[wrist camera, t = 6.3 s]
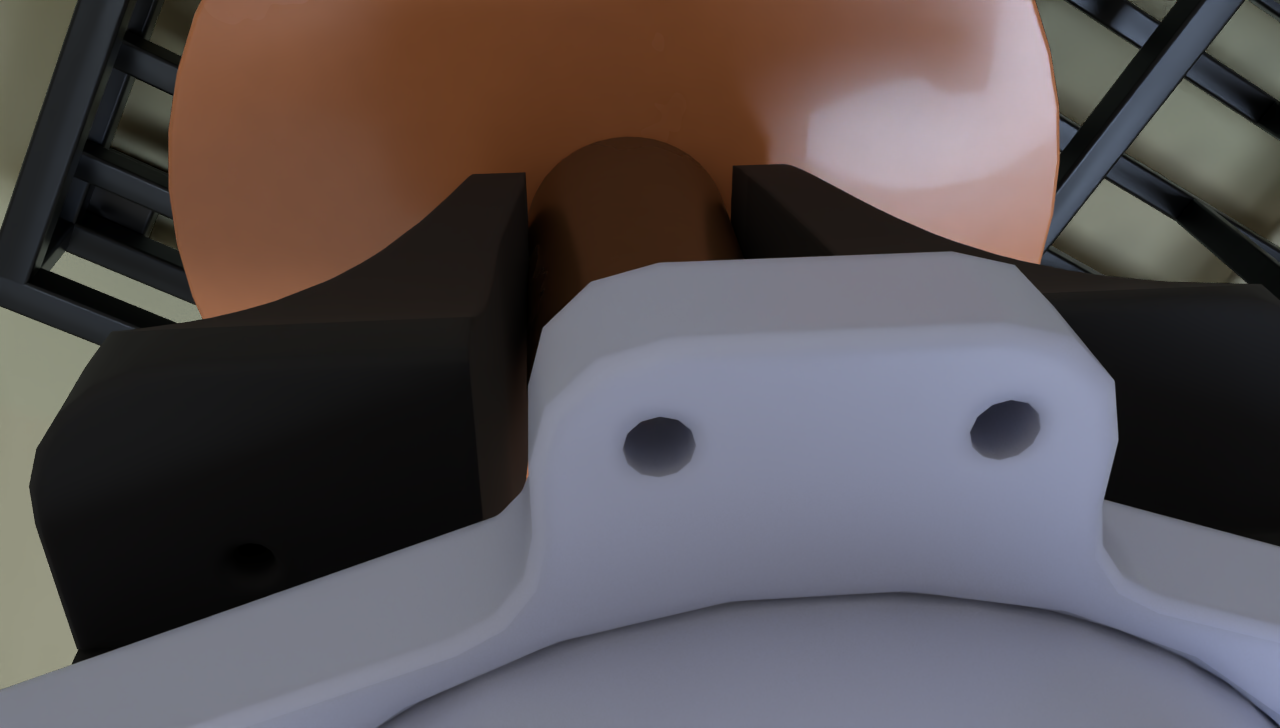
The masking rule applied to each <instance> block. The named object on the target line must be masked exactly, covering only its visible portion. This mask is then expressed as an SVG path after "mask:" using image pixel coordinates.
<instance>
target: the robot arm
mask: <svg viewBox="0 0 1280 728" xmlns="http://www.w3.org/2000/svg"><path fill="white" fill-rule="evenodd" d="M730 221H731V224H732V227H733V229H734V232H735V235H736V238H737V240H738V243H739V246H740V249H741V251H742V254H743V257H744V259H741V260H715V261H689V262H663V263H656V264H652V265H649V266H645V267H641V268H638V269H634V270H631V271H627V272H624V273H620V274H617V275H613V276H609V277H606V278H602V279H599V280H595V281H592V282H590V283H589V284H588V285H587V286H586V287H585V288H584V289H583V290H582V291H580V292H579V293H578V294H577V295H576V296H575V297H574V298H573V299H572V300H571V301H570V302H569V303H568V304H567V305H566V306H565V307H564V308H563V309H562V310H561V311H560V312H559V313H557V314H556V315H555V316H554V317H553V318H552V319H551V320H550V321H549V322H548V323H547V324H546V325H545V326H544V327H543V329H542V332H541V336H540V340H539V344H538V348H537V352H536V356H535V360H534V364H533V368H532V372H531V376H530V380H529V384H528V395H527V283H528V270H529V226H528V208H527V190H526V172H520V173H490V174H472V175H470V176H469V177H468V178H467V179H466V180H465V181H464V182H462V183H461V184H460V185H459V186H458V187H457V188H456V189H455V190H454V191H453V192H452V193H451V194H450V195H449V196H448V197H447V198H446V199H445V200H444V201H443V202H441V203H440V204H439V205H438V206H437V207H436V208H435V209H434V210H433V211H431V212H430V213H429V214H428V215H427V216H426V217H425V218H424V219H423V220H421V221H420V222H419V223H418V224H416V225H415V226H414V227H412V228H411V229H410V230H408V231H407V232H406V233H404V234H403V235H402V236H400V237H399V238H398V239H396V240H395V241H394V242H392V243H391V244H390V245H388V246H387V247H386V248H384V249H383V250H381V251H380V252H378V253H377V254H375V255H374V256H372V257H370V258H369V259H367V260H365V261H364V262H362V263H360V264H359V265H357V266H355V267H353V268H351V269H349V270H347V271H345V272H343V273H342V274H340V275H338V276H336V277H334V278H332V279H329V280H327V281H325V282H323V283H320V284H317V285H315V286H312V287H310V288H307V289H305V290H302V291H299V292H297V293H294V294H292V295H289V296H287V297H284V298H281V299H279V300H276V301H273V302H270V303H267V304H263V305H260V306H256V307H252V308H249V309H245V310H242V311H238V312H233V313H229V314H225V315H220V316H216V317H212V318H207V319H202V320H196V321H191V322H184V323H177V324H169V325H162V326H155V327H147V328H140V329H132V330H123V331H112V332H111V333H110V334H109V335H108V337H107V338H106V339H105V341H104V342H103V343H102V345H101V346H100V347H99V349H98V350H97V352H96V353H95V354H94V356H93V357H92V359H91V360H90V361H89V363H88V364H87V366H86V367H85V369H84V370H83V372H82V374H81V375H80V377H79V379H78V381H77V382H76V384H75V386H74V387H73V389H72V391H71V392H70V394H69V396H68V398H67V399H66V401H65V403H64V404H63V406H62V408H61V409H60V411H59V412H58V414H57V416H56V417H55V419H54V421H53V422H52V424H51V426H50V427H49V429H48V431H47V432H46V434H45V436H44V437H43V439H42V441H41V442H40V444H39V445H38V447H37V449H36V454H35V459H34V464H33V469H32V474H31V480H30V485H29V489H30V495H31V501H32V507H33V513H34V519H35V525H36V528H37V531H38V534H39V537H40V540H41V543H42V546H43V549H44V552H45V555H46V558H47V561H48V564H49V567H50V570H51V573H52V576H53V579H54V582H55V585H56V588H57V591H58V594H59V596H60V599H61V602H62V605H63V608H64V611H65V614H66V617H67V620H68V623H69V626H70V629H71V632H72V635H73V638H74V641H75V644H76V647H77V649H78V652H77V654H76V656H75V658H74V660H73V663H72V665H70V666H67V667H64V668H61V669H58V670H55V671H52V672H50V673H47V674H44V675H41V676H38V677H35V678H32V679H30V680H27V681H24V682H21V683H18V684H15V685H12V686H10V687H7V688H4V689H1V690H0V728H1280V300H1279V299H1278V298H1276V297H1275V296H1274V295H1273V294H1272V293H1271V292H1270V291H1269V290H1267V289H1266V288H1265V287H1264V286H1263V285H1262V284H1233V283H1195V282H1164V281H1151V280H1142V279H1132V278H1122V277H1113V276H1103V275H1097V274H1090V273H1083V272H1076V271H1070V270H1064V269H1060V268H1055V267H1050V266H1045V265H1040V264H1035V263H1030V262H1025V261H1021V260H1017V259H1013V258H1009V257H1005V256H1001V255H997V254H994V253H990V252H987V251H984V250H981V249H978V248H974V247H971V246H968V245H965V244H962V243H959V242H955V241H952V240H950V239H947V238H944V237H942V236H939V235H936V234H934V233H931V232H929V231H926V230H924V229H922V228H919V227H917V226H915V225H912V224H910V223H908V222H906V221H903V220H901V219H899V218H896V217H894V216H892V215H890V214H888V213H886V212H884V211H882V210H880V209H878V208H876V207H874V206H872V205H870V204H868V203H866V202H864V201H862V200H860V199H858V198H856V197H854V196H852V195H850V194H848V193H847V192H845V191H843V190H841V189H839V188H837V187H835V186H833V185H832V184H830V183H828V182H826V181H824V180H822V179H820V178H818V177H816V176H814V175H812V174H810V173H808V172H806V171H804V170H802V169H800V168H797V167H795V166H792V165H788V164H764V165H734V166H733V170H732V194H731V219H730ZM527 467H528V473H529V475H528V478H527V480H526V476H527Z"/></svg>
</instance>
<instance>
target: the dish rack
mask: <svg viewBox="0 0 1280 728" xmlns="http://www.w3.org/2000/svg"><path fill="white" fill-rule="evenodd" d="M1064 1H1066V2H1067V3H1069V4H1070V5H1072V6H1074V7H1075V8H1077V9H1078V10H1080V11H1081V12H1083V13H1084V14H1086V15H1087V16H1089V17H1090V18H1092V19H1094V20H1095V21H1097V22H1098V23H1100V24H1101V25H1103V26H1104V27H1106V28H1107V29H1109V30H1110V31H1112V32H1113V33H1115V34H1117V35H1118V36H1120V37H1121V38H1123V39H1124V40H1126V41H1127V42H1129V43H1130V44H1132V45H1133V46H1135V47H1137V48H1138V49H1140V50H1139V52H1138V53H1137V54H1136V56H1135V57H1134V58H1133V59H1132V61H1131V62H1130V63H1129V65H1128V66H1127V67H1126V69H1125V70H1124V71H1123V73H1122V74H1121V75H1120V76H1119V78H1118V79H1117V80H1116V82H1115V83H1114V84H1113V86H1112V87H1111V88H1110V90H1109V91H1108V92H1107V93H1106V95H1105V96H1104V97H1103V99H1102V100H1101V101H1100V103H1099V104H1098V105H1097V107H1096V108H1095V109H1094V110H1093V112H1092V113H1091V114H1090V116H1089V117H1088V118H1087V120H1086V121H1085V122H1084V124H1083V125H1082V126H1080V125H1078V124H1077V123H1075V122H1073V121H1072V120H1070V119H1068V118H1067V117H1065V116H1064V115H1062V114H1060V113H1059V139H1060V152H1061V154H1060V162H1059V170H1058V179H1057V187H1056V195H1055V203H1054V211H1053V216H1052V220H1051V224H1050V228H1049V232H1048V235H1047V239H1046V243H1045V247H1044V251H1043V255H1042V259H1041V262H1040V265H1045V266H1050V267H1055V268H1060V269H1064V270H1070V271H1076V272H1083V273H1090V274H1097V275H1103V274H1101V273H1099V272H1098V271H1096V270H1094V269H1092V268H1090V267H1089V266H1087V265H1085V264H1083V263H1082V262H1080V261H1078V260H1076V259H1074V258H1073V257H1071V256H1069V255H1067V254H1065V253H1064V252H1062V251H1060V250H1058V249H1057V248H1055V247H1053V246H1051V245H1052V243H1053V242H1054V241H1055V240H1056V238H1057V237H1058V236H1059V235H1060V233H1061V232H1062V231H1063V230H1064V228H1065V227H1066V226H1067V225H1068V223H1069V222H1070V221H1071V219H1072V218H1073V217H1074V216H1075V214H1076V213H1077V212H1078V211H1079V209H1080V208H1081V207H1082V206H1083V204H1084V203H1085V202H1086V201H1087V199H1088V198H1089V197H1090V195H1091V194H1092V193H1093V192H1094V190H1095V189H1096V188H1097V187H1098V185H1099V184H1100V183H1101V182H1102V180H1103V179H1106V180H1108V181H1109V182H1111V183H1113V184H1114V185H1116V186H1118V187H1119V188H1121V189H1123V190H1125V191H1126V192H1128V193H1130V194H1131V195H1133V196H1135V197H1136V198H1138V199H1140V200H1141V201H1143V202H1145V203H1146V204H1148V205H1150V206H1151V207H1153V208H1155V209H1156V210H1158V211H1160V212H1161V213H1163V214H1165V215H1166V216H1168V217H1170V218H1171V219H1173V220H1175V221H1176V222H1177V223H1178V224H1179V225H1181V226H1182V227H1183V228H1184V229H1185V230H1186V231H1187V232H1189V233H1190V234H1191V235H1192V236H1193V237H1194V238H1196V239H1197V240H1198V241H1199V242H1200V243H1201V244H1203V245H1204V246H1205V247H1206V248H1207V249H1208V250H1210V251H1211V252H1212V253H1213V254H1214V255H1215V256H1216V257H1218V258H1219V259H1220V260H1221V261H1222V262H1223V263H1225V264H1226V265H1227V266H1228V267H1229V268H1230V269H1232V270H1233V271H1234V272H1235V273H1236V274H1237V275H1238V276H1240V277H1241V278H1242V279H1243V280H1244V281H1245V282H1247V283H1248V284H1262V285H1263V286H1264V287H1265V288H1266V289H1267V290H1269V291H1270V292H1271V293H1272V294H1273V295H1274V296H1275V297H1276V298H1278V299H1279V300H1280V247H1278V246H1277V245H1275V244H1273V243H1272V242H1270V241H1268V240H1267V239H1265V238H1264V237H1262V236H1260V235H1259V234H1257V233H1255V232H1254V231H1252V230H1250V229H1249V228H1247V227H1245V226H1244V225H1242V224H1241V223H1239V222H1237V221H1236V220H1234V219H1232V218H1231V217H1229V216H1227V215H1226V214H1224V213H1223V212H1221V211H1219V210H1218V209H1216V208H1214V207H1213V206H1211V205H1209V204H1208V203H1206V202H1205V201H1203V200H1201V199H1200V198H1198V197H1196V196H1195V195H1193V194H1191V193H1190V192H1188V191H1186V190H1185V189H1183V188H1182V187H1180V186H1178V185H1177V184H1175V183H1173V182H1172V181H1170V180H1168V179H1167V178H1165V177H1164V176H1162V175H1160V174H1159V173H1157V172H1155V171H1154V170H1152V169H1150V168H1149V167H1147V166H1146V165H1144V164H1142V163H1141V162H1139V161H1137V160H1136V159H1134V158H1132V157H1131V156H1129V155H1127V154H1126V153H1125V151H1126V150H1127V149H1128V147H1129V146H1130V145H1131V144H1132V142H1133V141H1134V140H1135V139H1136V137H1137V136H1138V135H1139V134H1140V132H1141V131H1142V130H1143V129H1144V127H1145V126H1146V125H1147V123H1148V122H1149V121H1150V120H1151V118H1152V117H1153V116H1154V115H1155V113H1156V112H1157V111H1158V110H1159V108H1160V107H1161V106H1162V105H1163V103H1164V102H1165V101H1166V99H1167V98H1168V97H1169V96H1170V94H1171V93H1172V92H1173V91H1174V89H1175V88H1176V87H1177V86H1178V84H1179V83H1180V82H1181V81H1182V79H1183V78H1184V79H1186V80H1187V81H1189V82H1190V83H1192V84H1193V85H1195V86H1196V87H1198V88H1199V89H1201V90H1203V91H1204V92H1206V93H1207V94H1209V95H1210V96H1212V97H1213V98H1215V99H1216V100H1218V101H1219V102H1221V103H1222V104H1224V105H1226V106H1227V107H1229V108H1230V109H1232V110H1233V111H1235V112H1236V113H1238V114H1239V115H1241V116H1242V117H1244V118H1246V119H1247V120H1249V121H1250V122H1252V123H1253V124H1255V125H1256V126H1258V127H1259V128H1261V129H1262V130H1264V131H1265V132H1267V133H1269V134H1270V135H1272V136H1273V137H1275V138H1276V139H1278V140H1279V141H1280V102H1279V101H1278V100H1276V99H1275V98H1273V97H1272V96H1270V95H1269V94H1267V93H1266V92H1264V91H1263V90H1261V89H1260V88H1258V87H1257V86H1255V85H1254V84H1252V83H1251V82H1249V81H1248V80H1246V79H1245V78H1243V77H1242V76H1240V75H1239V74H1237V73H1236V72H1234V71H1233V70H1231V69H1230V68H1228V67H1227V66H1225V65H1224V64H1222V63H1221V62H1219V61H1218V60H1216V59H1215V58H1213V57H1212V56H1210V55H1209V54H1207V53H1206V52H1204V51H1205V50H1206V49H1207V48H1208V46H1209V45H1210V44H1211V43H1212V41H1213V40H1214V39H1215V38H1216V36H1217V35H1218V34H1219V33H1220V31H1221V30H1222V29H1223V27H1224V26H1225V25H1226V24H1227V22H1228V21H1229V20H1230V19H1231V17H1232V16H1233V15H1234V14H1235V12H1236V11H1237V10H1238V9H1239V7H1240V6H1241V5H1242V3H1243V2H1244V1H1245V0H1178V1H1177V2H1176V3H1175V5H1174V6H1173V7H1172V9H1171V10H1170V11H1169V12H1168V14H1167V15H1166V16H1165V18H1164V19H1163V20H1162V22H1159V21H1158V20H1156V19H1155V18H1153V17H1152V16H1150V15H1149V14H1147V13H1146V12H1144V11H1143V10H1141V9H1140V8H1138V7H1137V6H1135V5H1134V4H1132V3H1131V2H1129V1H1128V0H1064ZM1249 1H1250V2H1251V3H1253V4H1254V5H1256V6H1257V7H1259V8H1260V9H1262V10H1263V11H1264V12H1266V13H1267V14H1269V15H1270V16H1272V17H1273V18H1274V19H1276V20H1277V21H1279V22H1280V0H1249ZM163 3H164V0H78V1H77V4H76V7H75V10H74V13H73V16H72V19H71V22H70V25H69V28H68V30H67V33H66V36H65V39H64V42H63V45H62V48H61V51H60V54H59V57H58V60H57V63H56V66H55V69H54V72H53V75H52V78H51V81H50V84H49V87H48V90H47V93H46V96H45V99H44V102H43V105H42V108H41V111H40V113H39V116H38V119H37V122H36V125H35V128H34V131H33V134H32V137H31V140H30V143H29V146H28V149H27V152H26V155H25V158H24V161H23V164H22V167H21V170H20V173H19V176H18V179H17V182H16V185H15V188H14V191H13V194H12V196H11V199H10V202H9V205H8V208H7V211H6V214H5V217H4V220H3V223H2V226H1V229H0V306H1V307H3V308H6V309H8V310H11V311H13V312H16V313H18V314H21V315H24V316H26V317H29V318H31V319H34V320H36V321H39V322H41V323H44V324H46V325H49V326H52V327H54V328H57V329H59V330H62V331H64V332H67V333H69V334H72V335H74V336H77V337H80V338H82V339H85V340H87V341H90V342H92V343H95V344H97V345H100V346H101V345H102V343H103V342H104V341H105V339H106V338H107V337H108V335H109V334H110V333H111V332H112V331H123V330H132V329H140V328H147V327H155V326H162V325H169V324H177V323H176V322H173V321H171V320H168V319H166V318H163V317H161V316H159V315H156V314H154V313H151V312H149V311H146V310H144V309H141V308H139V307H136V306H134V305H132V304H129V303H127V302H124V301H122V300H119V299H117V298H114V297H112V296H109V295H107V294H105V293H102V292H100V291H97V290H95V289H92V288H90V287H87V286H85V285H82V284H80V283H78V282H75V281H73V280H70V279H68V278H65V277H63V276H60V275H58V274H55V273H53V272H50V270H51V269H52V267H53V266H54V265H55V263H56V262H57V261H58V260H59V258H60V257H61V256H62V255H63V253H64V252H65V251H66V252H69V253H71V254H73V255H76V256H78V257H81V258H83V259H85V260H88V261H90V262H93V263H95V264H98V265H100V266H102V267H105V268H107V269H110V270H112V271H114V272H117V273H119V274H122V275H124V276H126V277H129V278H131V279H134V280H136V281H139V282H141V283H143V284H146V285H148V286H151V287H153V288H155V289H158V290H160V291H163V292H165V293H168V294H170V295H172V296H175V297H177V298H180V299H182V300H184V301H187V302H189V303H192V304H194V305H196V303H195V301H194V299H193V297H192V293H191V290H190V287H189V283H188V280H187V277H186V273H185V270H184V267H183V263H182V260H181V257H180V253H179V251H178V250H176V249H173V248H171V247H169V246H166V245H164V244H162V243H159V242H157V241H155V240H152V239H150V238H149V236H150V233H151V231H152V228H153V226H154V223H155V221H156V218H157V216H158V214H161V215H163V216H165V217H168V218H170V219H172V220H173V216H172V209H171V202H170V196H169V189H168V173H165V172H163V171H161V170H159V169H156V168H154V167H152V166H150V165H147V164H145V163H143V162H141V161H139V160H136V159H134V158H132V157H130V156H127V155H125V154H123V153H121V152H118V151H116V150H114V149H112V148H110V145H111V143H112V140H113V137H114V135H115V132H116V129H117V126H118V124H119V121H120V118H121V116H122V113H123V110H124V108H125V105H126V102H127V100H128V97H129V94H130V91H131V89H132V86H133V83H134V81H135V78H136V79H138V80H141V81H143V82H145V83H147V84H149V85H151V86H153V87H156V88H158V89H160V90H162V91H164V92H166V93H168V94H170V95H174V88H175V81H176V74H177V70H178V67H179V64H180V60H181V56H179V55H177V54H175V53H173V52H171V51H169V50H167V49H165V48H163V47H161V46H158V45H156V44H154V43H152V42H150V41H149V40H150V38H151V35H152V32H153V29H154V27H155V24H156V21H157V19H158V16H159V13H160V11H161V8H162V5H163ZM1103 276H1105V275H1103Z"/></svg>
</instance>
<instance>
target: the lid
mask: <svg viewBox="0 0 1280 728" xmlns="http://www.w3.org/2000/svg"><path fill="white" fill-rule="evenodd" d="M1059 162H1060V139H1059V101H1058V95H1057V89H1056V82H1055V76H1054V69H1053V63H1052V57H1051V50H1050V47H1049V43H1048V40H1047V37H1046V34H1045V31H1044V27H1043V24H1042V21H1041V18H1040V14H1039V11H1038V8H1037V5H1036V1H1035V0H201V1H200V3H199V6H198V8H197V10H196V12H195V14H194V17H193V20H192V24H191V27H190V30H189V34H188V37H187V40H186V44H185V47H184V50H183V54H182V57H181V60H180V64H179V67H178V70H177V74H176V81H175V88H174V95H173V102H172V109H171V116H170V123H169V130H168V189H169V196H170V202H171V209H172V216H173V222H174V229H175V236H176V242H177V246H178V250H179V253H180V257H181V260H182V263H183V267H184V270H185V273H186V277H187V280H188V283H189V287H190V290H191V293H192V297H193V299H194V301H195V303H196V305H197V308H198V310H199V312H200V314H201V316H202V319H207V318H212V317H216V316H220V315H225V314H229V313H233V312H238V311H242V310H245V309H249V308H252V307H256V306H260V305H263V304H267V303H270V302H273V301H276V300H279V299H281V298H284V297H287V296H289V295H292V294H294V293H297V292H299V291H302V290H305V289H307V288H310V287H312V286H315V285H317V284H320V283H323V282H325V281H327V280H329V279H332V278H334V277H336V276H338V275H340V274H342V273H343V272H345V271H347V270H349V269H351V268H353V267H355V266H357V265H359V264H360V263H362V262H364V261H365V260H367V259H369V258H370V257H372V256H374V255H375V254H377V253H378V252H380V251H381V250H383V249H384V248H386V247H387V246H388V245H390V244H391V243H392V242H394V241H395V240H396V239H398V238H399V237H400V236H402V235H403V234H404V233H406V232H407V231H408V230H410V229H411V228H412V227H414V226H415V225H416V224H418V223H419V222H420V221H421V220H423V219H424V218H425V217H426V216H427V215H428V214H429V213H430V212H431V211H433V210H434V209H435V208H436V207H437V206H438V205H439V204H440V203H441V202H443V201H444V200H445V199H446V198H447V197H448V196H449V195H450V194H451V193H452V192H453V191H454V190H455V189H456V188H457V187H458V186H459V185H460V184H461V183H462V182H464V181H465V180H466V179H467V178H468V177H469V176H470V175H472V174H490V173H520V172H526V190H527V208H528V226H529V270H528V283H527V395H528V384H529V380H530V376H531V372H532V368H533V364H534V360H535V356H536V352H537V348H538V344H539V340H540V336H541V332H542V329H543V327H544V326H545V325H546V324H547V323H548V322H549V321H550V320H551V319H552V318H553V317H554V316H555V315H556V314H557V313H559V312H560V311H561V310H562V309H563V308H564V307H565V306H566V305H567V304H568V303H569V302H570V301H571V300H572V299H573V298H574V297H575V296H576V295H577V294H578V293H579V292H580V291H582V290H583V289H584V288H585V287H586V286H587V285H588V284H589V283H590V282H592V281H595V280H599V279H602V278H606V277H609V276H613V275H617V274H620V273H624V272H627V271H631V270H634V269H638V268H641V267H645V266H649V265H652V264H656V263H663V262H689V261H715V260H741V259H744V257H743V254H742V251H741V249H740V246H739V243H738V240H737V238H736V235H735V232H734V229H733V227H732V224H731V221H730V219H731V194H732V170H733V166H734V165H764V164H788V165H792V166H795V167H797V168H800V169H802V170H804V171H806V172H808V173H810V174H812V175H814V176H816V177H818V178H820V179H822V180H824V181H826V182H828V183H830V184H832V185H833V186H835V187H837V188H839V189H841V190H843V191H845V192H847V193H848V194H850V195H852V196H854V197H856V198H858V199H860V200H862V201H864V202H866V203H868V204H870V205H872V206H874V207H876V208H878V209H880V210H882V211H884V212H886V213H888V214H890V215H892V216H894V217H896V218H899V219H901V220H903V221H906V222H908V223H910V224H912V225H915V226H917V227H919V228H922V229H924V230H926V231H929V232H931V233H934V234H936V235H939V236H942V237H944V238H947V239H950V240H952V241H955V242H959V243H962V244H965V245H968V246H971V247H974V248H978V249H981V250H984V251H987V252H990V253H994V254H997V255H1001V256H1005V257H1009V258H1013V259H1017V260H1021V261H1025V262H1030V263H1035V264H1040V262H1041V259H1042V255H1043V251H1044V247H1045V243H1046V239H1047V235H1048V232H1049V228H1050V224H1051V220H1052V216H1053V211H1054V203H1055V195H1056V187H1057V179H1058V170H1059ZM528 475H529V473H528V467H527V476H526V480H527V478H528Z"/></svg>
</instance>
